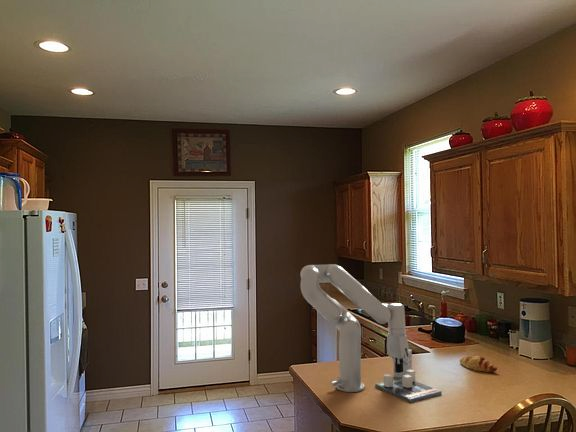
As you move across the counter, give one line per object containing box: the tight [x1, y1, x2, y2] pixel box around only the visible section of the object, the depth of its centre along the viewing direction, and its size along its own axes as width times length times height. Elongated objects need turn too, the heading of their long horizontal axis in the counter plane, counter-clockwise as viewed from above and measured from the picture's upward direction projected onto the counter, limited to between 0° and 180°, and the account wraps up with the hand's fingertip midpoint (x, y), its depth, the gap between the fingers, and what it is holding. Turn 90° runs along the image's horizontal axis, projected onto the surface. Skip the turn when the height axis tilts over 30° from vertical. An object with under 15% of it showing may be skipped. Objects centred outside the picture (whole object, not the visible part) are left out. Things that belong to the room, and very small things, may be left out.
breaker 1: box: [382, 373, 394, 387], centre depth 209 cm, size 3×3×4 cm
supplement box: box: [393, 348, 413, 379], centre depth 227 cm, size 7×7×13 cm
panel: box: [374, 378, 442, 404], centre depth 208 cm, size 18×22×2 cm
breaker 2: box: [406, 369, 416, 382], centre depth 215 cm, size 3×3×4 cm
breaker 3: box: [402, 375, 412, 388], centre depth 208 cm, size 3×3×4 cm
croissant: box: [459, 355, 498, 373], centre depth 238 cm, size 21×10×8 cm, turn 34°
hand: (399, 372), depth 213 cm, fingers closed
